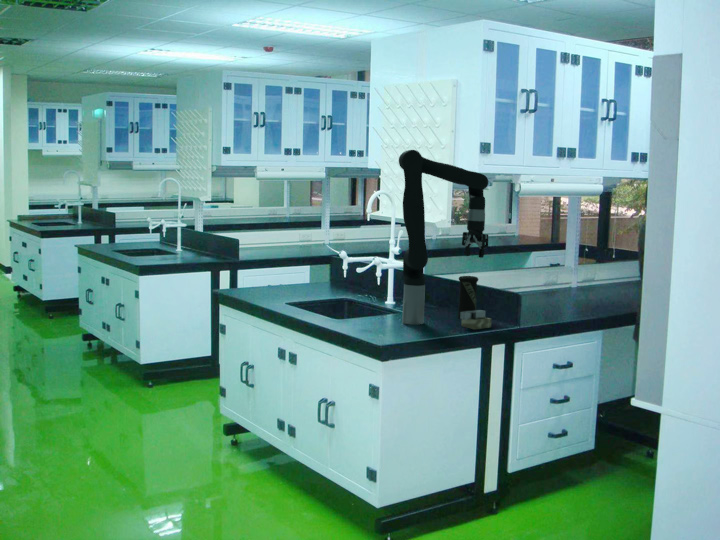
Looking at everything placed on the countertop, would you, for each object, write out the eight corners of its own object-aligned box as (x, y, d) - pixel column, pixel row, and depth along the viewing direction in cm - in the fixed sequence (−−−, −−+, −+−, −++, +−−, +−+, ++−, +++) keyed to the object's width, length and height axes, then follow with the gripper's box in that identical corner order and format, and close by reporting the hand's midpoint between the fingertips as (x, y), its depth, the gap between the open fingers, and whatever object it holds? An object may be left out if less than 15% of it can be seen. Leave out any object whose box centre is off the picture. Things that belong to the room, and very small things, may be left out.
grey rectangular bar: (485, 317, 327) (464, 319, 320) (480, 316, 330) (460, 318, 323) (485, 310, 327) (465, 312, 320) (480, 309, 329) (460, 311, 322)
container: (466, 321, 340) (468, 277, 338) (453, 318, 347) (454, 275, 345) (480, 319, 345) (482, 276, 343) (466, 316, 352) (468, 274, 350)
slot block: (474, 329, 321) (475, 313, 320) (461, 326, 327) (462, 310, 326) (491, 327, 326) (491, 311, 326) (478, 324, 333) (478, 308, 332)
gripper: (493, 220, 326) (491, 258, 328) (471, 218, 338) (469, 255, 339) (481, 220, 322) (479, 258, 324) (458, 218, 333) (456, 255, 335)
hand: (474, 256), depth 331 cm, fingers open, 8 cm apart
